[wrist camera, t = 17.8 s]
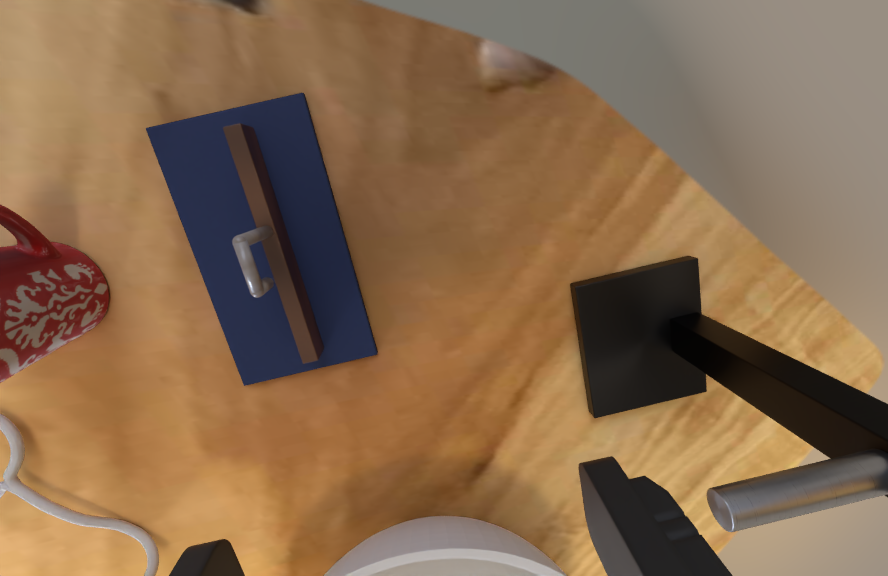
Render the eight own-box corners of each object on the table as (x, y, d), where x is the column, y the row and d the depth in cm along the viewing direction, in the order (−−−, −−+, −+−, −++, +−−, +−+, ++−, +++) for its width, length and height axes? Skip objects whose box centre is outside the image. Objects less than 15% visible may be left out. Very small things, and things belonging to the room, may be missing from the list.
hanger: (236, 130, 30) (180, 116, 23) (253, 126, 30) (202, 111, 23) (310, 351, 35) (282, 399, 27) (324, 348, 35) (301, 394, 27)
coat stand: (563, 284, 35) (770, 434, 15) (689, 255, 35) (1060, 364, 15) (583, 412, 38) (775, 679, 18) (698, 385, 39) (1016, 619, 18)
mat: (149, 128, 30) (145, 128, 30) (304, 93, 30) (302, 92, 30) (246, 383, 35) (243, 385, 35) (377, 352, 36) (377, 354, 35)
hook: (150, 589, 39) (-43, 461, 38) (204, 516, 38) (5, 380, 36) (79, 674, 32) (-162, 519, 31) (142, 588, 30) (-108, 421, 29)
